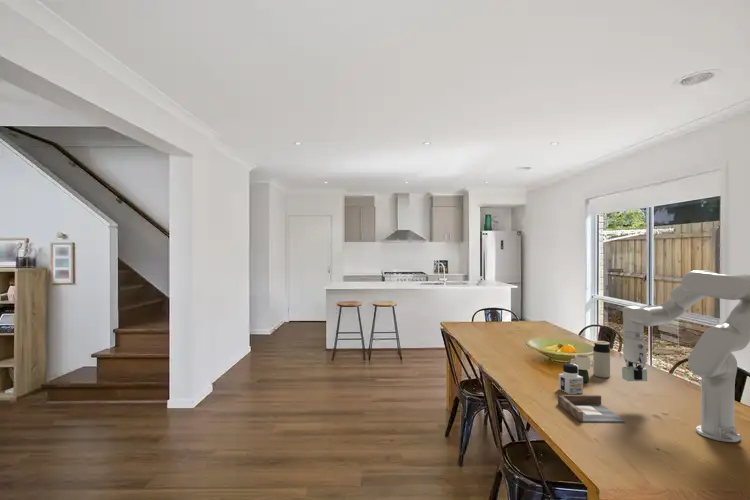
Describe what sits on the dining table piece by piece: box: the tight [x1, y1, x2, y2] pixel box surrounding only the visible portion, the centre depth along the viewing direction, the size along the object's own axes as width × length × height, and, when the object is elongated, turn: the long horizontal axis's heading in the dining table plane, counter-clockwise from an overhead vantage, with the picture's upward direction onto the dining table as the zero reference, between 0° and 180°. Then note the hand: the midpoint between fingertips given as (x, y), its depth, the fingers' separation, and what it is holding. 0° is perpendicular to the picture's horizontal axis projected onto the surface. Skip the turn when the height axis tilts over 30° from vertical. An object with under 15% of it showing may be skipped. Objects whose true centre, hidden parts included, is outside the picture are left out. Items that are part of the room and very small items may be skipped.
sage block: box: [621, 366, 648, 382], centre depth 183 cm, size 4×8×5 cm, turn 89°
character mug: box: [570, 354, 594, 383], centre depth 220 cm, size 11×7×13 cm, turn 74°
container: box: [558, 362, 584, 395], centre depth 204 cm, size 8×8×13 cm
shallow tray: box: [557, 394, 626, 424], centre depth 177 cm, size 20×18×4 cm
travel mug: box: [592, 340, 611, 379], centre depth 229 cm, size 8×8×18 cm
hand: (634, 377), depth 183 cm, fingers closed on sage block, 4 cm apart
